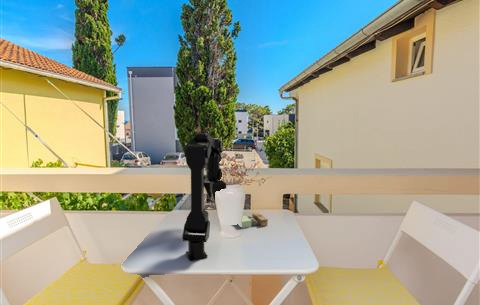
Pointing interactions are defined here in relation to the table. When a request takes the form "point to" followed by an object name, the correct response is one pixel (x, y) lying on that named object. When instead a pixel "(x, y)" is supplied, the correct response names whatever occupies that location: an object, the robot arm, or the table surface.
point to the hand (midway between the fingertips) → (213, 200)
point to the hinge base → (258, 219)
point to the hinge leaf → (246, 222)
